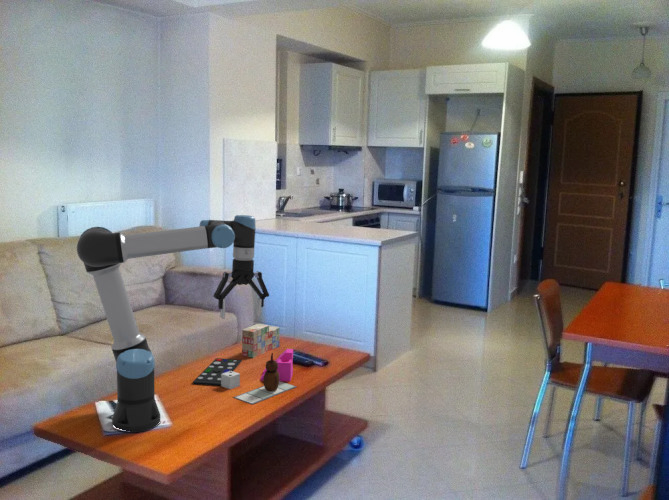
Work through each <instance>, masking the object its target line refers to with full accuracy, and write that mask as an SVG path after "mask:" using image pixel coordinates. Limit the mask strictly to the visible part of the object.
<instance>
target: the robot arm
mask: <svg viewBox="0 0 669 500" xmlns="http://www.w3.org/2000/svg"><path fill="white" fill-rule="evenodd" d="M256 229H257V228H256V218H255V217H254V216H253V215H249V214H248V215H245V214H237V215H235V216H234V219H233V220H220V219H219V220H218V219H215V220H214V219H202V220H201V221H200V222H199V226H191V227H184V228H183V227H182V228H176V229H175V228H174V229H167V230H157V231H149V232H141V233H131V234H124V233H123V232H112V231H111V230H110V229H108V228H106V227H103V226H94V227H93V226H91V227H89V228H87V229H86V230H84V231H83V232H82V233H81V235H80V236H79V238H78V241H77V244H76V254H77V255H78V258H79V259H80V260H81V262H82V263H83V265H84V268H85V272H86V273H87V274H89V275H91V276H92V278H93V281H94V282H95V283H94V284H95V286H96V289H97V292H98V296H99V298H100V300H101V301H100V302H101V305H102V308H103V311H104V313H105V317H106V320H107V323H108V326H109V330H110V332H111V335H112V338H113V343H112V345H111V351H112V354H113V357H114V360H115V369H116V391H117V393H116V395H117V399H116V406H115V409H114V411H113V414H112V419H111V421H112V422H111V425H112V424H113V425H114V426H115V427H116V428H119V429H122V430H126V431H130V432H129V433H140V432H144V431H145V432H146V431H149V430H152V429H154V428H155V427H154V426H156V425H157V424H158V423H159V422H161V412H160V410H159V407H158V404H157V402H156V398H155V367H156V365H155V364H156V362H155V357H154V355H153V352H152V351H151V349H150V347H149V344H148V340H147V337H146V335H144V334H143V333H140V330H139V327H138V323H137V321H136V318H135V315H134V311H133V308H132V304H131V302H130V298H129V296H128V292H127V289H126V286H125V282H124V280H123V276H122V273H121V270H120V267H121V265H122V264H123V263H126V262H127V260H129V259H136V258H137V259H138V258H144V257H153V256H159V255H166V254H167V255H168V254H176V253H182V252H190V251H198V250H203V249H215V248H216V249H217V248H219V249H227V248H229V247H231V246H232V247H233V250H232V258H233V259H232V266H231V267H232V270H231V272H226V271H224V272H223V273H222V279H221V280H220V282H219V284H218V286H217V288H216V289H215V292H214V293H213V295H212V296H213V298H214V299H216V300H218V305H217V306H218V307H217V308H218V309H219V310H220V319H223V320H224V319H225V318H226V300H225V298H226V297H227V296H228V295H229V294H230V293H231V292H232V290H233V289H234V288H235V287H236V286H237V285H238V286H243V285H244V286H245V285H246V286H247V285H249V286H250V287H251V288H252V290H253V291H254V292H255V293H256V295H257V296H258V297H256V309H255V314H256V316H257V317H259V318H261V317H262V308H263V307H264V306H265V304H264V302H265V299H266V298H267V297H270V294H269V291H268V288H267V286H266V284H265V282H264V280H263V275H262V274H263V273H262V272H261V271H259V270H258V271H256V272H255V271H254V265H255V260H254V258H255V243H256ZM254 277H255V278H256V280H257V282H258V284H259V286H260V289H261V290H260V289H259V288H258V286H257V285H256V284H255V282H254V280H253V278H254ZM230 278H232V280H231V281H230V282H229V284H228V285H227V282H228V281H229V279H230ZM226 285H227V286H226ZM225 286H226V287H225ZM159 424H160V423H159ZM159 424H158V425H159ZM158 425H157V426H158ZM157 426H156V427H157ZM153 427H154V428H153ZM151 428H152V429H151Z"/></svg>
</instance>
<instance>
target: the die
mask: <svg viewBox="0 0 669 500" xmlns="http://www.w3.org/2000/svg"><path fill="white" fill-rule="evenodd" d="M240 386H241V374H240V373H239V372H236V371H229V372H226V373H223V374H221V386H220V387H223V388H225V389H229V390H232V389H235V388H237V387H240Z"/></svg>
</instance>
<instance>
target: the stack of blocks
mask: <svg viewBox="0 0 669 500" xmlns="http://www.w3.org/2000/svg"><path fill="white" fill-rule="evenodd" d="M241 331H242V333H241V334H242V335H241V336H242V337H241V344H242V345H241V348H242V350H241V356H243V357H247V358H251V359H254V358H257V357H259V356H261V355H264V354H265V353H267V352H270V351H272V350H274V349H277V348H279V347H280V340H281V339H280V337H281V334H280V331H281V329H280V327H279V326H272V325H269V324H268V325H267V324H263V323H256V324H254V325H251V326H249V327H246V328H243V329H242V330H241Z"/></svg>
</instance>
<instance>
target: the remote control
mask: <svg viewBox="0 0 669 500" xmlns="http://www.w3.org/2000/svg"><path fill="white" fill-rule="evenodd" d="M241 363H242V359H235V358H233V359H232V358H221V357H220V358H219V357H216V358H215V359H214V360H212V362H211V363H210V364H209V365H208V366H207V367H206V368H205V369H204V370H203V371H202V372H201V373H200V374H199V375H198V376H197V377H196V378H195V379H194V380H193V381H192V385H201V386H214V387H222V386H221V374H223V373H226V372H229V371H233V372H235V370H236V369H237V367H238V366H239V365H240V364H241Z"/></svg>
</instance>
